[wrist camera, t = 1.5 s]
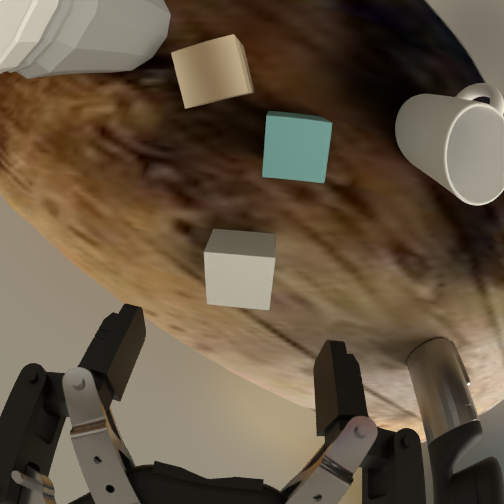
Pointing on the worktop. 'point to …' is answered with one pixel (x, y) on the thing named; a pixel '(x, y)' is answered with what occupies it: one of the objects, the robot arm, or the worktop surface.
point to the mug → (456, 141)
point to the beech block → (212, 71)
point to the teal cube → (296, 146)
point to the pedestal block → (239, 268)
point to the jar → (79, 35)
